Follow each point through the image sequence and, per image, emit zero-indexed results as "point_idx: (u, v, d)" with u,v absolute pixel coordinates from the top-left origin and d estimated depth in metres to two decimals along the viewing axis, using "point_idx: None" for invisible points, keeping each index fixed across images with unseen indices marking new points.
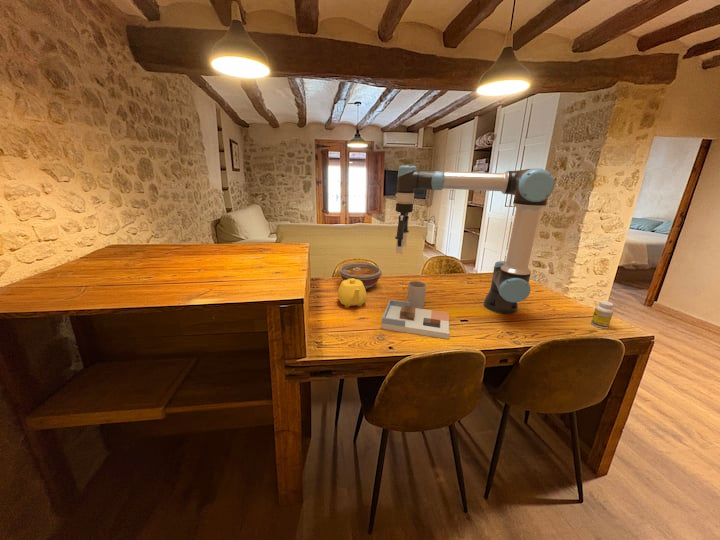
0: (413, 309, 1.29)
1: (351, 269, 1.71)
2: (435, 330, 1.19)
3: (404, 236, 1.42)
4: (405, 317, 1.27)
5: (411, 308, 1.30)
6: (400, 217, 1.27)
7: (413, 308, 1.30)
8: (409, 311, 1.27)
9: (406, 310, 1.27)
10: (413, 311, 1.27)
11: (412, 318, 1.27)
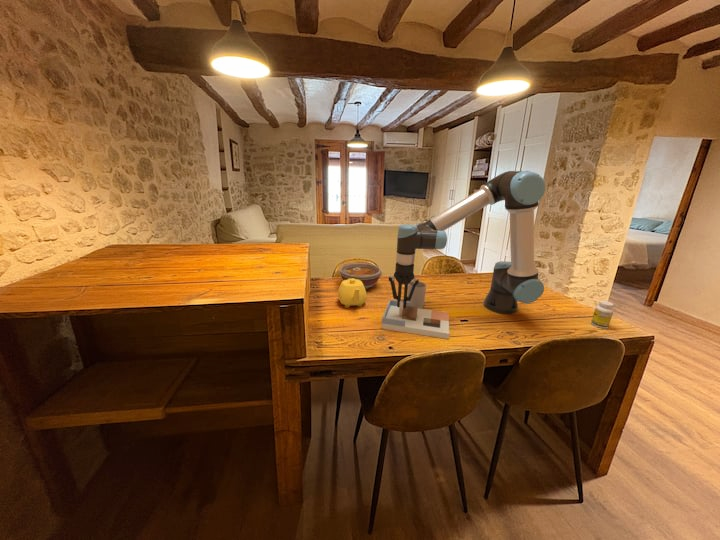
0: (415, 309, 1.29)
1: (351, 269, 1.71)
2: (435, 330, 1.19)
3: None
4: (407, 317, 1.27)
5: (413, 308, 1.29)
6: None
7: (415, 308, 1.30)
8: (411, 311, 1.27)
9: (409, 311, 1.27)
10: (415, 311, 1.27)
11: (414, 318, 1.26)
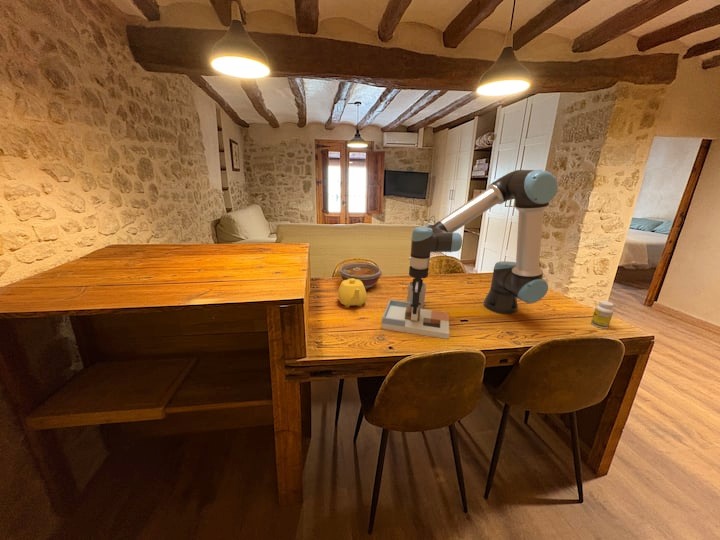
0: (418, 309, 1.29)
1: (351, 269, 1.71)
2: (435, 330, 1.19)
3: None
4: (410, 318, 1.27)
5: None
6: (414, 290, 1.15)
7: None
8: None
9: None
10: (418, 311, 1.27)
11: None
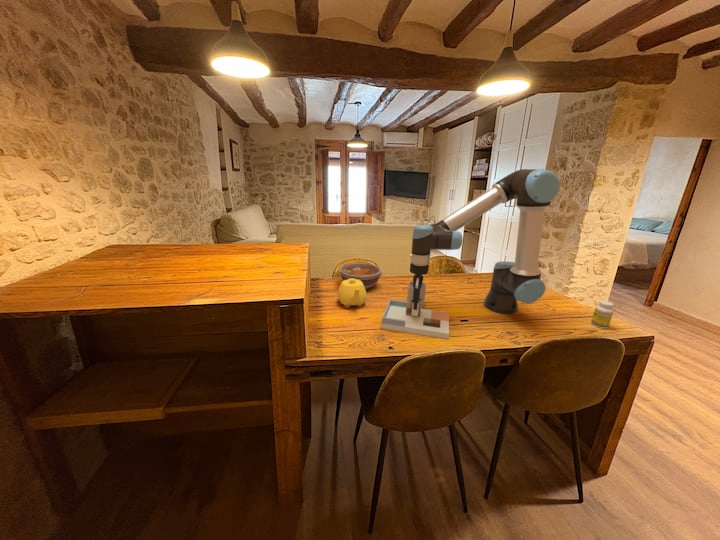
0: (419, 306, 1.32)
1: (351, 269, 1.71)
2: (435, 330, 1.19)
3: None
4: (411, 313, 1.31)
5: None
6: (415, 286, 1.19)
7: (419, 305, 1.33)
8: None
9: None
10: (419, 308, 1.30)
11: (418, 314, 1.30)
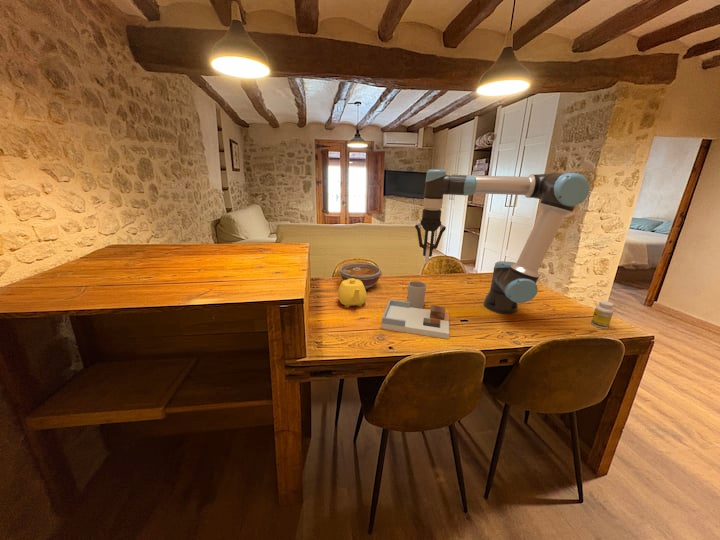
0: (443, 309, 1.30)
1: (351, 269, 1.71)
2: (435, 330, 1.19)
3: None
4: (435, 317, 1.28)
5: (441, 308, 1.31)
6: None
7: (443, 308, 1.31)
8: (439, 311, 1.28)
9: (437, 310, 1.29)
10: (443, 311, 1.28)
11: (442, 318, 1.28)
